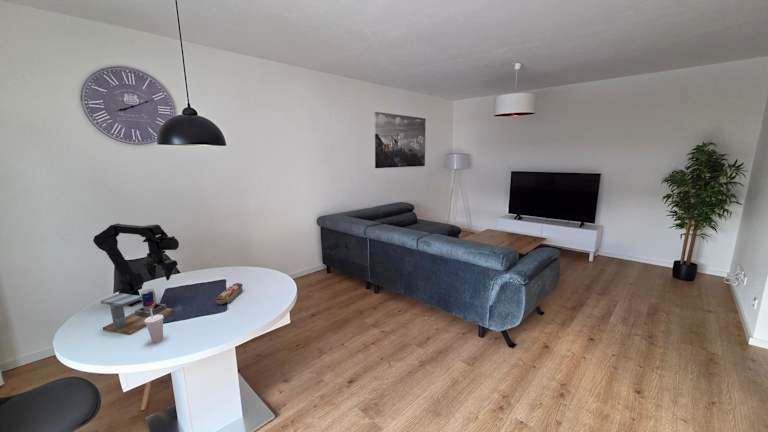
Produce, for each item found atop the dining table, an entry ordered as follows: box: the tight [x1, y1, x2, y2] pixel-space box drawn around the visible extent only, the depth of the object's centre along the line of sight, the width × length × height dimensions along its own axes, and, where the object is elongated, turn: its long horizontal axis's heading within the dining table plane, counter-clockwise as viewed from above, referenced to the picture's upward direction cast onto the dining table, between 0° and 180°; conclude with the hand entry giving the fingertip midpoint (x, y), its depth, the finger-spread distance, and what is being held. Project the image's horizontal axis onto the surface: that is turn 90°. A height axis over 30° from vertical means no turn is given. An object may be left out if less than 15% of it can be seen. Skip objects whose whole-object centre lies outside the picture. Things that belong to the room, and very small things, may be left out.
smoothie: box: [145, 308, 165, 343], centre depth 129 cm, size 6×6×14 cm
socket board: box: [100, 292, 175, 336], centre depth 145 cm, size 16×21×14 cm
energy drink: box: [140, 288, 157, 312], centre depth 151 cm, size 5×5×12 cm
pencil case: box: [215, 282, 244, 305], centre depth 169 cm, size 11×20×5 cm, turn 166°
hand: (160, 279), depth 161 cm, fingers open, 9 cm apart
